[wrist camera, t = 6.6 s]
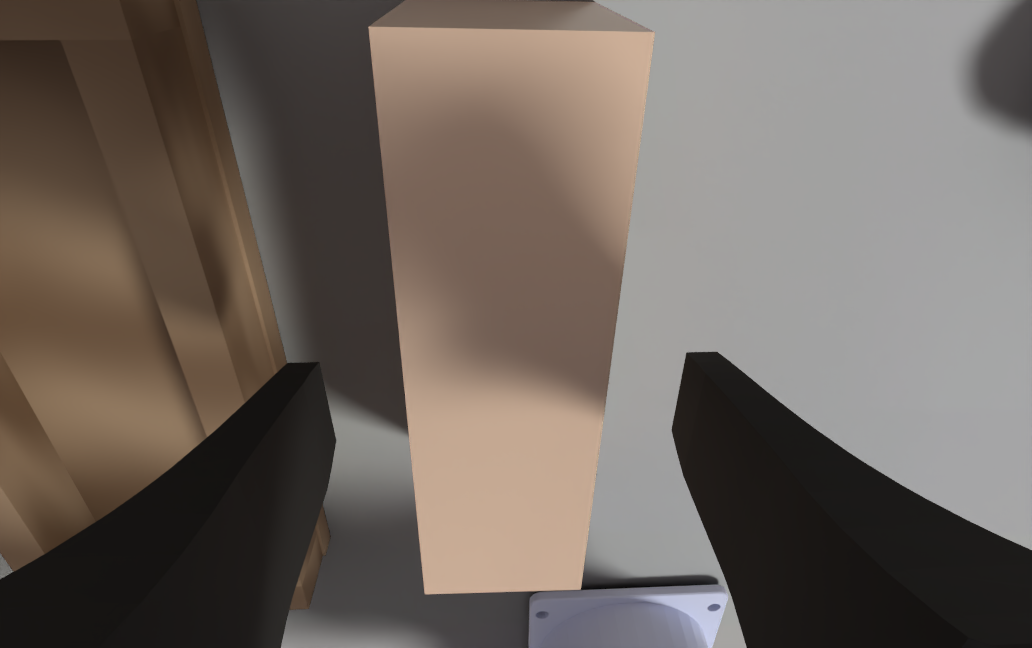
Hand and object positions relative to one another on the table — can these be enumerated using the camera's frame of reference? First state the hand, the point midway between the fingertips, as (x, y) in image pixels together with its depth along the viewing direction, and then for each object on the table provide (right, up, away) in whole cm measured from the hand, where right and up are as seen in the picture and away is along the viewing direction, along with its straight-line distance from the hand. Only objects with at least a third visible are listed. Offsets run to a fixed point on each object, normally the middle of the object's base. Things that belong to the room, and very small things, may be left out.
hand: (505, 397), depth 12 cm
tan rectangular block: (0, +3, +5) cm, 5 cm away
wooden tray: (-11, +1, +5) cm, 12 cm away
